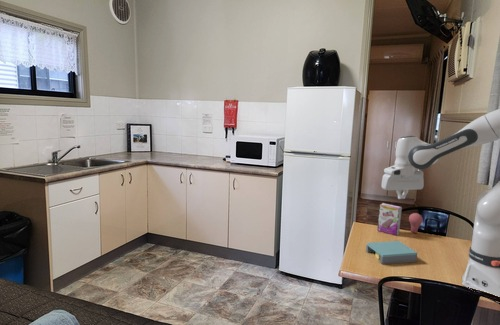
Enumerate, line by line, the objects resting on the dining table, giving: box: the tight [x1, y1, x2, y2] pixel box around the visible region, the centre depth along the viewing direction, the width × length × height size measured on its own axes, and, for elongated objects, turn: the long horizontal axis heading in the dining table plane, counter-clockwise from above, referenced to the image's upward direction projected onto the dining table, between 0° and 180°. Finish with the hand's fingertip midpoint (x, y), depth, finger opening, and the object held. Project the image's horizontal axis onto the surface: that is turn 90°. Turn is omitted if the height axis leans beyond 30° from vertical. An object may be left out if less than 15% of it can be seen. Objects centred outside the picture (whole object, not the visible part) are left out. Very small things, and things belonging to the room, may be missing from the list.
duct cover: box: [365, 240, 418, 257], centre depth 157 cm, size 14×18×1 cm
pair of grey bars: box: [365, 244, 418, 265], centre depth 157 cm, size 14×18×4 cm
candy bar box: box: [377, 202, 403, 237], centre depth 188 cm, size 11×5×16 cm, turn 48°
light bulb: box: [408, 212, 423, 234], centre depth 188 cm, size 7×7×12 cm
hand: (401, 198), depth 154 cm, fingers closed
